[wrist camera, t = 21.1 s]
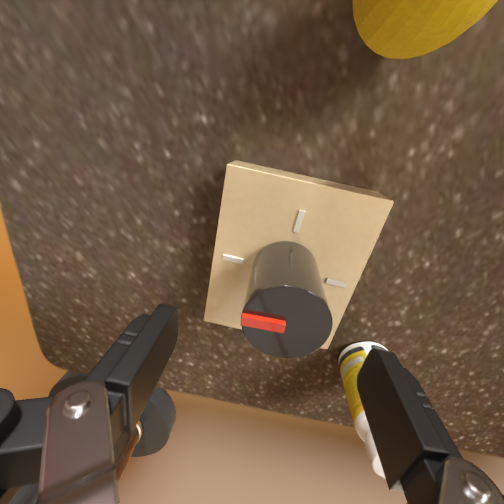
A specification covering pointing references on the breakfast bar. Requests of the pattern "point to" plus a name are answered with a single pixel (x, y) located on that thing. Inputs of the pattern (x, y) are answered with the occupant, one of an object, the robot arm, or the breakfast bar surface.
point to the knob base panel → (291, 234)
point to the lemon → (414, 24)
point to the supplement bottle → (349, 369)
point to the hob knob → (286, 302)
